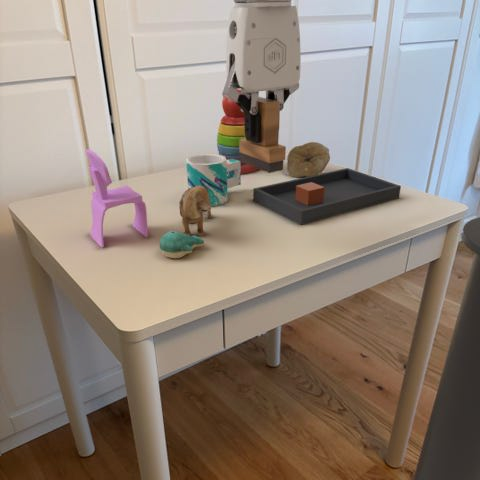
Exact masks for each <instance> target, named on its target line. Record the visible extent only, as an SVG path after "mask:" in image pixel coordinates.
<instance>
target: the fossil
mask: <svg viewBox="0 0 480 480" xmlns="http://www.w3.org/2000/svg"><path fill="white" fill-rule="evenodd" d="M286 157H287V158H286V161H287V163H286V170H287V173H288V174H289V175H290V176H292V177H293V178H304V177H309V176H313V175H318V174H322V172H323V171H324V170H325V169H326V167H327V165H328V164H329V162H330V160H331V155H330V149H329V148H328V146H327V147H326V146H325V145H324V144H323V143H320V142H316V141H310V142H307V143H304V144H302V145H301V144H300V145H296V146H294V147H293V148H291V149H290V150H289V152H288V154H287V155H286Z"/></svg>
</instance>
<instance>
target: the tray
mask: <svg viewBox="0 0 480 480" xmlns="http://www.w3.org/2000/svg"><path fill="white" fill-rule="evenodd" d="M310 182H313V183H315V184H318V185H320V186H323V187H325V188H324V200H323V202H321V203H317V204H313V205H309V206H307V205H305V204H303V203H301V202H298V201H296V200H295V197H296V186H297V185H301V184H306V183H310ZM401 188H402V186H401V185H399V184H396V183H394V182H390V181H388V180H385V179H382V178H378V177H376V176H372V175H370V174H367V173H364V172H361V171H357V170H355V169H352V168H349V167H346V168H341V169H337V170H332V171H328V172H323V173H322V172H321V173H319V174H317V175H313V176H309V177H308V176H303V177H299V178H295V179H291V180H287V181H282V182H278V183H273V184H268V185H263V186H259V187H255V188H253V189H252V200H253V201H252V202H253V203H257V204H258V205H260V206H262V207H265V208H267V209H269V210H270V211H272V212H274V213H276V214H278V215H280V216H282V217H284V218H286V219H288V220H290V221H292V222H294V223H297V224H298V225H300V226H303V225H305V224H306V225H307V224H309V223H314V222H317V221H322V220H325V219H328V218H331V217H336V216H340V215H343V214H347V213H350V212H353V211H358V210H361V209H365V208H368V207H372V206H375V205H379V204H384V203H387V202H390V201H394V200H398V199H400V194H401Z"/></svg>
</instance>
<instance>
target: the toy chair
mask: <svg viewBox="0 0 480 480" xmlns="http://www.w3.org/2000/svg"><path fill="white" fill-rule="evenodd" d="M85 153H86V156H87V160H88V163H89V165H90V166H88V169H89V173H90V176H91V179H92V182H93V185H94V189H95V191H92V192H91V194H92V198H91V200H90V207H91V217H92V220H91V221H92V222H91V229H90V234H89V236H90V237H91V238H92V239H93V240H94V241H95V242H96V244H98V246H100V248H102V249H103V248H105V244H104V219H105V215H106V212H107V211H108V210H109V209H111V208H116V207H119V206H121V205H127V204H133V206H134V219H133V223H132V227H133V228H134V229H136V230H137V231H138V232H139V233H140V234H141V235H143V236H144V237H145V238H148V237H149V229H148V215H147V214H148V212H147V205H146V203H145V201H143V196H142V194H140V193H139V192H137V191H135V190H134V189H133V188H132V187H130V186H129V185H125V186H119V187H116V188H111V189H108V187H109V186H110V185H111V184H112V183H113V181H112V179H111V176H110V173H109V170H108V167H107V165H106V163H105V162H104V160H103V159H102V158H101V157H100V156H99V155H98V154H97V153H96V152H94V151H93V150H92V149H90V148H88V149H86V150H85Z"/></svg>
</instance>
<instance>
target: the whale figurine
mask: <svg viewBox="0 0 480 480" xmlns="http://www.w3.org/2000/svg"><path fill="white" fill-rule="evenodd" d="M183 233H184V232H178V231H175V230H174V231H173V230H170V231H167V232H166V233H164V234H163V235H162V236H161V237H160V239H159V244H158V245H159V252H160V254H162V255H163V256H165V257H166V258H169V259H180V258H182V257H184V256H186V255H188V254H191V253H192V252H193V249H195V248H196V247H202V246H203V245H205V240H204V239H203V238H201V237H200V236H197V235H196V234H195V235H191V234H190V235H187V234H183Z"/></svg>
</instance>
